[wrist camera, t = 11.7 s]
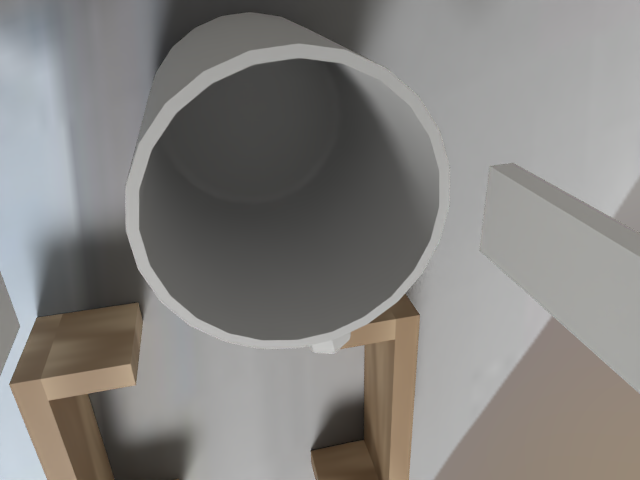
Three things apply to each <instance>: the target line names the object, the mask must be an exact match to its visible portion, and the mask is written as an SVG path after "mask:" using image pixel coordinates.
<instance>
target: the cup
mask: <svg viewBox="0 0 640 480" xmlns="http://www.w3.org/2000/svg"><path fill="white" fill-rule="evenodd" d="M449 206H450V165H449V162H448V158H447V154H446V151H445V147H444V143H443V140H442V136H441V132H440V130H439V128H438V126H437V125H436V123H435V122H434V120H433V118H432V117H431V115H430V113H429V112H428V110H427V108H426V107H425V105H424V104H423V102H422V100H421V99H420V97H419V96H418V95H417V94H416V93H415V92H414V91H412V90H411V89H410V88H409V87H408V86H407V85H406V84H404V83H403V82H402V81H401V80H400V79H399V78H398V77H396V76H395V75H394V74H393V73H392V72H391V71H390V70H388V69H387V68H385V67H383V66H381V65H379V64H377V63H375V62H373V61H371V60H369V59H367V58H365V57H363V56H361V55H359V54H357V53H355V52H353V51H351V50H349V49H347V48H345V47H343V46H341V45H339V44H337V43H335V42H333V41H331V40H329V39H327V38H325V37H323V36H321V35H319V34H317V33H315V32H313V31H311V30H309V29H307V28H305V27H303V26H301V25H298V24H296V23H294V22H292V21H290V20H287V19H285V18H283V17H281V16H274V15H267V14H260V13H253V12H247V13H239V14H232V15H225V16H220V17H218V18H215V19H213V20H211V21H209V22H207V23H204V24H202V25H200V26H198V27H196V28H194V29H193V30H192V31H191V32H189V33H188V34H187V35H186V36H185V37H184V38H182V39H181V40H180V41H179V42H178V43H177V44H175V45H174V46H173V47H172V48H171V50H170V52H169V53H168V55H167V56H166V58H165V59H164V61H163V62H162V64H161V66H160V67H159V69H158V70H157V72H156V74H155V77H154V80H153V84H152V87H151V90H150V94H149V97H148V100H147V104H146V108H145V112H144V116H143V120H142V124H141V128H140V132H139V135H138V139H137V143H136V147H135V151H134V155H133V159H132V163H131V167H130V171H129V175H128V179H127V183H126V187H125V210H126V233H127V236H128V239H129V242H130V246H131V249H132V252H133V255H134V258H135V261H136V264H137V268H138V270H139V271H140V273H141V274H142V276H143V277H144V279H145V280H146V282H147V283H148V284H149V286H150V287H151V289H152V290H153V292H154V293H155V295H156V296H157V297H158V299H159V300H160V302H162V303H163V304H164V305H165V306H166V307H168V308H169V309H170V310H171V311H172V312H174V313H175V314H176V315H177V316H178V317H180V318H181V319H182V320H183V321H184V322H186V323H187V324H188V325H189V326H191V327H193V328H195V329H197V330H200V331H202V332H204V333H206V334H208V335H210V336H213V337H215V338H217V339H219V340H221V341H223V342H228V343H233V344H238V345H243V346H248V347H253V348H257V349H287V348H301V347H305V346H308V347H309V348H310V349H311V350H312V351H313V353H327V354H335V353H336V352H337V351H338V350H339V349H340V348H341V347H342V346H343V345H344V344H346V343H347V342H348V341H349V340H350V336H351V332H352V331H354V330H356V329H358V328H360V327H362V326H365V325H367V324H368V323H370V322H371V321H373V320H374V319H375V318H377V317H378V316H379V315H381V314H382V313H383V312H385V311H386V310H387V309H389V308H390V307H391V306H393V305H394V304H395V303H397V302H398V301H399V300H400V299H401V297H402V296H403V295H404V294H405V293H406V292H407V291H408V289H409V288H410V287H411V286H412V285H413V284H414V283H415V281H416V280H417V279H418V278H419V277H420V276H421V275H422V273H423V271H424V270H425V268H426V266H427V264H428V262H429V261H430V259H431V257H432V255H433V253H434V251H435V250H436V248H437V246H438V244H439V242H440V240H441V236H442V232H443V228H444V225H445V221H446V217H447V214H448V210H449Z"/></svg>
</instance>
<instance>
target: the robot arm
mask: <svg viewBox="0 0 640 480" xmlns="http://www.w3.org/2000/svg"><path fill="white" fill-rule="evenodd" d="M479 251H480V252H482V253H483V254H484V255H485V256H486V257H487V258H488V259H489V260H490V261H492V262H493V263H494V264H495V265H496V266H497V267H498V268H499V269H501V270H502V271H503V272H504V273H505V274H506V275H507V276H508V277H510V278H511V279H512V280H513V281H514V282H515V283H516V284H517V285H518V286H520V287H521V288H522V289H523V290H524V291H525V292H526V293H527V294H529V295H530V296H531V297H532V298H533V299H534V300H535V301H536V302H538V303H539V304H540V305H541V306H542V307H543V308H544V309H545V310H546V311H548V312H549V313H550V314H551V315H552V316H553V317H554V318H555V319H557V320H558V321H559V322H560V323H561V324H562V325H563V326H564V327H566V328H567V329H568V330H569V331H570V332H571V333H572V334H573V335H574V336H576V337H577V338H578V339H579V340H580V341H581V342H582V343H583V344H585V345H586V346H587V347H588V348H589V349H590V350H591V351H592V352H594V353H595V354H596V355H597V356H598V357H599V358H600V359H602V361H604V362H605V363H606V364H607V365H608V366H609V367H610V368H611V369H613V370H614V371H615V372H616V373H617V374H618V375H619V376H620V377H622V378H623V379H624V380H625V381H626V382H627V383H628V384H629V385H630V386H632V387H633V388H634V389H635V390H636V391H637V392H638V393H639V394H640V233H639V232H637V231H635V230H633V229H631V228H630V227H628V226H626V225H624V224H622V223H620V222H619V221H617V220H615V219H613V218H612V217H610V216H608V215H606V214H604V213H603V212H601V211H599V210H597V209H595V208H594V207H592V206H590V205H588V204H586V203H585V202H583V201H581V200H579V199H577V198H576V197H574V196H572V195H570V194H568V193H567V192H565V191H563V190H561V189H559V188H558V187H556V186H554V185H552V184H550V183H548V182H547V181H545V180H543V179H541V178H539V177H538V176H536V175H534V174H532V173H530V172H529V171H527V170H525V169H523V168H521V167H520V166H518V165H516V164H514V163H510V164H502V165H494V166H490V167H489V175H488V183H487V192H486V200H485V208H484V217H483V225H482V233H481V242H480V250H479ZM19 328H20V324H19V322H18V319H17V316H16V313H15V311H14V308H13V305H12V302H11V300H10V297H9V294H8V291H7V289H6V286H5V283H4V280H3V277H2V275H1V272H0V375H1V373H2V370H3V368H4V365H5V363H6V360H7V358H8V355H9V353H10V350H11V348H12V345H13V343H14V340H15V338H16V335H17V333H18V330H19Z"/></svg>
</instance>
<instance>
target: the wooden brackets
mask: <svg viewBox="0 0 640 480" xmlns="http://www.w3.org/2000/svg"><path fill="white" fill-rule="evenodd" d="M419 321H420V314H419V313H418V312H417V310H416V309H415V307H414V306H413V304H412V303H411V301H410V300H409V298H408V297H407V295H406V294H404V295H403V296H402V297H401V299H400V300H399V301H398V302H397V303H395V304H394V305H393V306H391V307H390V308H389V309H387V310H386V311H385V312H383V313H382V314H381V315H379V316H378V317H377V318H375V319H374V320H373V321H371V322H370V323H368V324H367V325H365V326H362V327H360V328H358V329H356V330H354V331H352V332H351V336H350V340H349V341H348V342H347V343H346V344H344V345H343V346H342V347H341V348H340V349H344V348H349V347H355V346H361V345H365V364H364V440H360V441H355V442H351V443H346V444H341V445H336V446H332V447H327V448H322V449H317V450H313V451H311V462H312V467H313V471H314V475H315V479H316V480H409V469H410V454H411V439H412V424H413V410H414V395H415V380H416V365H417V350H418V336H419ZM142 325H143V320H142V316H141V312H140V307H139V303H131V304H125V305H118V306H111V307H105V308H98V309H91V310H84V311H78V312H71V313H64V314H57V315H51V316H44V317H37V318H36V321H35V323H34V325H33V328H32V330H31V333H30V335H29V338H28V340H27V342H26V345H25V347H24V350H23V352H22V355H21V357H20V359H19V362H18V364H17V367H16V369H15V372H14V374H13V376H12V379H11V381H10V384H9V385H10V388H11V390H12V393H13V395H14V398H15V400H16V403H17V405H18V408H19V410H20V413H21V415H22V418H23V420H24V423H25V425H26V428H27V430H28V433H29V435H30V438H31V440H32V443H33V445H34V448H35V450H36V453H37V455H38V458H39V460H40V463H41V465H42V468H43V470H44V473H45V475H46V478H47V480H115V479H114V476H113V472H112V469H111V466H110V463H109V460H108V456H107V453H106V450H105V447H104V444H103V440H102V437H101V434H100V431H99V428H98V425H97V421H96V418H95V415H94V412H93V409H92V405H91V402H90V399H89V396H88V394H89V393H94V392H100V391H106V390H111V389H117V388H123V387H128V386H134V385H136V380H137V370H138V361H139V352H140V343H141V334H142ZM175 480H179V479H175Z"/></svg>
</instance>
